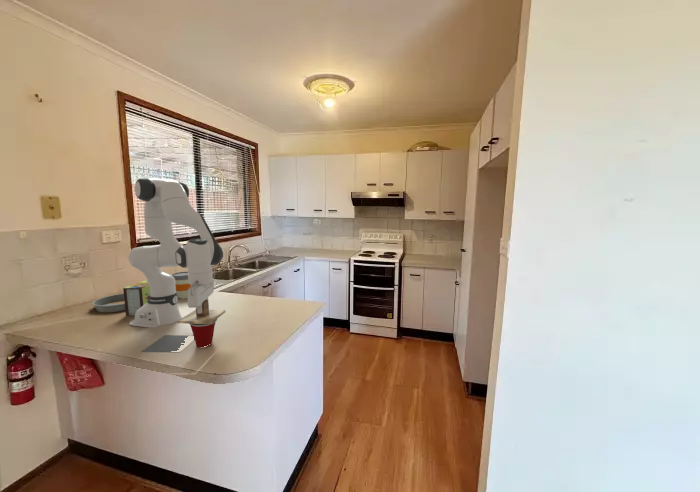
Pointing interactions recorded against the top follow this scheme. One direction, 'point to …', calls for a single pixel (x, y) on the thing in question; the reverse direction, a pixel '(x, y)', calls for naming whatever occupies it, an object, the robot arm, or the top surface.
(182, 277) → the reusable coffee cup
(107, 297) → the cake pan
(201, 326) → the plastic cup
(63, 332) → the top surface
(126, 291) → the protein box
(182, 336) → the mat
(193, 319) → the lid
